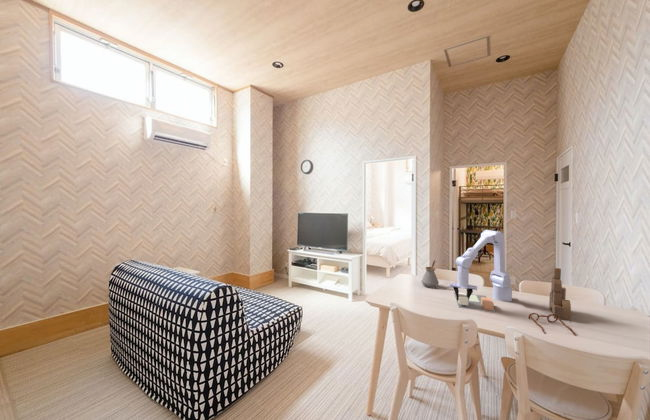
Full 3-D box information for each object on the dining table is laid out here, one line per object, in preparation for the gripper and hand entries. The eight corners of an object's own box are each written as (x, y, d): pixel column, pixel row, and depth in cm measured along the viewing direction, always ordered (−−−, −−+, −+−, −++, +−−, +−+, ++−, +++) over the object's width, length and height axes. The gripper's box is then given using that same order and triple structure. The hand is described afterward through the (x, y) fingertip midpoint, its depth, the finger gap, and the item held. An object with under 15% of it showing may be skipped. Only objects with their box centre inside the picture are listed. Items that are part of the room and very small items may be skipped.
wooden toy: (571, 321, 134) (573, 273, 132) (554, 318, 137) (556, 271, 135) (564, 309, 147) (566, 265, 145) (548, 307, 150) (550, 264, 149)
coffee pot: (436, 289, 179) (437, 268, 178) (419, 286, 185) (419, 265, 184) (442, 281, 196) (442, 261, 195) (426, 278, 203) (426, 259, 202)
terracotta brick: (489, 304, 152) (490, 297, 152) (493, 310, 145) (493, 303, 144) (480, 303, 154) (481, 296, 153) (484, 309, 146) (484, 302, 146)
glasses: (556, 323, 133) (556, 313, 133) (576, 337, 120) (577, 326, 120) (527, 321, 135) (528, 311, 135) (544, 334, 122) (544, 324, 122)
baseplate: (485, 297, 165) (485, 295, 165) (495, 314, 142) (495, 312, 142) (453, 293, 171) (453, 292, 171) (458, 309, 149) (459, 307, 149)
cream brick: (465, 299, 156) (465, 293, 156) (468, 305, 149) (468, 298, 148) (457, 299, 158) (457, 292, 158) (459, 304, 150) (459, 297, 150)
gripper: (449, 278, 151) (449, 301, 152) (478, 281, 146) (478, 304, 147) (448, 275, 158) (448, 297, 159) (476, 277, 153) (475, 300, 154)
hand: (462, 300), depth 153 cm, fingers closed on cream brick, 4 cm apart
